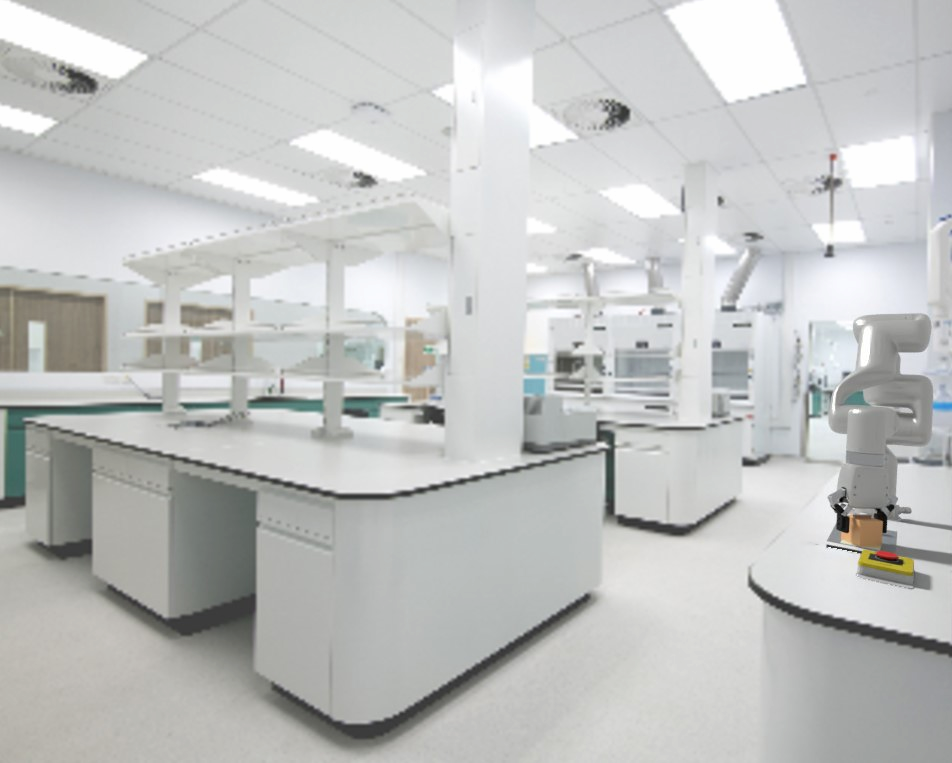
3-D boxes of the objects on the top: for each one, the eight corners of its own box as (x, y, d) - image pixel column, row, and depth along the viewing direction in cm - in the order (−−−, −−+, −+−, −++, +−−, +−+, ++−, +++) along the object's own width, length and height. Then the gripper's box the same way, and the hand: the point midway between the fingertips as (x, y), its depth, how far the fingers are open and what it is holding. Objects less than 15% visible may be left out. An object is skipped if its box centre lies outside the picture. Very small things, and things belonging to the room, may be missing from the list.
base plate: (836, 526, 150) (837, 505, 149) (896, 537, 141) (897, 514, 141) (826, 547, 131) (827, 522, 131) (894, 560, 123) (896, 534, 123)
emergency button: (915, 551, 117) (914, 570, 105) (914, 572, 117) (912, 592, 105) (862, 542, 123) (855, 558, 111) (861, 561, 123) (854, 579, 111)
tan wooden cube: (862, 539, 133) (863, 511, 133) (881, 546, 127) (883, 518, 127) (840, 539, 132) (842, 511, 132) (859, 546, 127) (861, 518, 127)
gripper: (884, 457, 134) (880, 527, 135) (819, 456, 132) (816, 526, 133) (912, 463, 127) (908, 536, 127) (843, 462, 125) (840, 536, 125)
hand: (861, 531), depth 130 cm, fingers open, 9 cm apart
